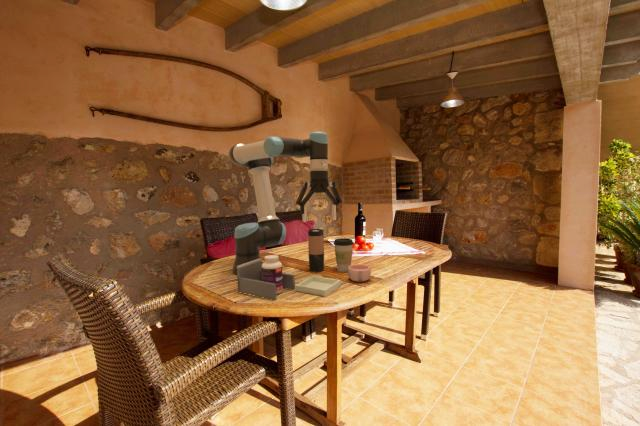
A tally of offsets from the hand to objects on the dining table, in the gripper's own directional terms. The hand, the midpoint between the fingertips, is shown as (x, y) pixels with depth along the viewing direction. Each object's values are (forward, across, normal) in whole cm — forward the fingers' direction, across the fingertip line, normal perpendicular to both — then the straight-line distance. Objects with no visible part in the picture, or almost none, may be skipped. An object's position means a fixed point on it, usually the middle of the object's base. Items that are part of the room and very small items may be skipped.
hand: (319, 220), depth 128 cm
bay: (+27, -24, 0) cm, 36 cm away
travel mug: (+27, +6, +17) cm, 33 cm away
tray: (+27, -4, -7) cm, 28 cm away
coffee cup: (+27, +18, +11) cm, 34 cm away
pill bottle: (+27, -22, -3) cm, 35 cm away
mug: (+27, +17, -4) cm, 32 cm away
